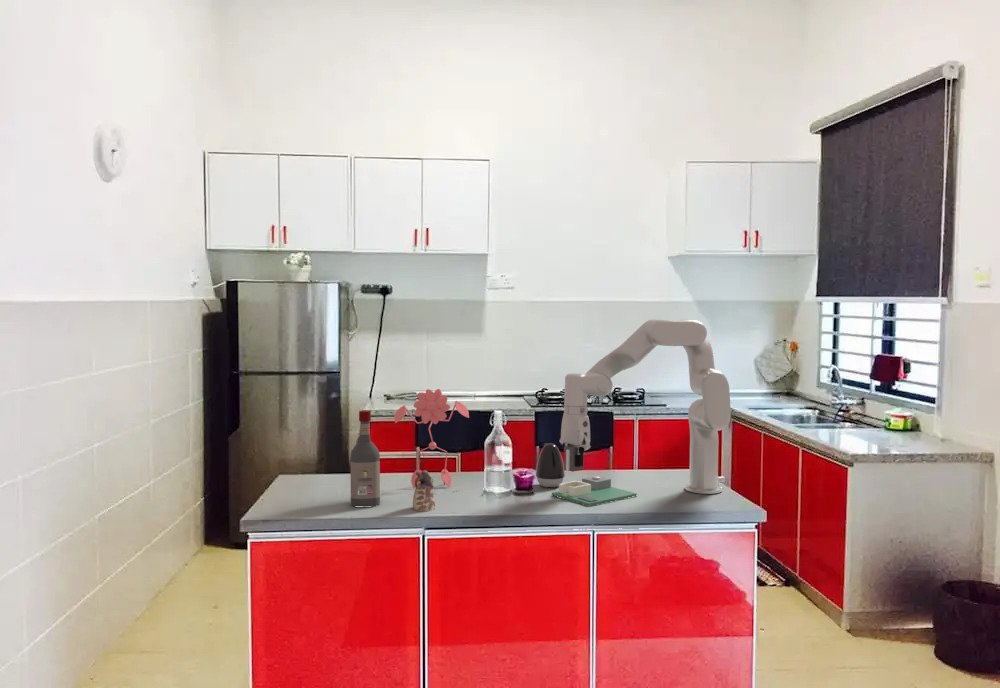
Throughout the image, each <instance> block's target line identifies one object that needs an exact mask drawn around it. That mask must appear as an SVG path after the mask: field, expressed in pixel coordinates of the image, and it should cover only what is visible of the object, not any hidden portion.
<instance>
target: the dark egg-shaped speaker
mask: <svg viewBox="0 0 1000 688" xmlns="http://www.w3.org/2000/svg"><path fill="white" fill-rule="evenodd" d="M535 469H536V470H535V477H536V481H537V482H538V484H539V485H540V486H542V487H544V488H548V487H554V488H558V487H559V484H561V483H564V482H563V481H564V478H565V476H566V474H565V473H566V472H565V471H566V470H564V460H563V456H562V454H561V451H560V450H559V448H558V446H557V445H556V444H555V443H552V442H550V443H547V442H546V443H545V442H544V443H543V447H542V449H541V451H540V453H539V455H538V459H537V464H536V468H535Z"/></svg>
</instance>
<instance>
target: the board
mask: <svg viewBox="0 0 1000 688" xmlns="http://www.w3.org/2000/svg"><path fill="white" fill-rule="evenodd" d="M552 495H554V496H553V497H555V496H558V497H561V498H560V499H562V498H564V499H563V500H565V499H567V500H566V501H569V500H571V501H570V502H572V501H574V502H573V503H575V502H578V503H577V504H579V503H581V504H580V505H582V504H584V505H583V506H586V505H588V506H587V507H589V506H590V507H593V506H592V505H594V506H598V505H597V504H599V505H602V504H601V503H604V504H606V503H605V502H608V503H611V502H610V501H613V502H616V501H615V500H618V501H621V500H620V499H622V500H625V499H624V498H627V499H629V498H628V497H631V498H633V497H632V496H636V495H637V496H638V494H637V492H632V491H628V490H624V489H621V488H616V487H612V486H611V487H610V488H605V489H600V490H594V489H591V493H590V494H585V495H580V496H575V497H573V496H569V495H568V492H566V494H562V493H559V490H558V491H553V492H551V496H552ZM637 496H636V497H637ZM558 497H557V498H558Z"/></svg>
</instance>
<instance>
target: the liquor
mask: <svg viewBox="0 0 1000 688" xmlns="http://www.w3.org/2000/svg"><path fill="white" fill-rule="evenodd" d="M371 412H372V411H371V410H368V409H367V410H359V411H358V421H359V423H360V426H359V430H360V431H359V435H360V436H359V441H357V443H356V445H355V446H354V447H353V448H352V449H351V452H350V458H349V459H350V460H349V461H350V464H349V465H350V505H351V506H352V505H353V506H375V507H377V506H376V505H378V506H379V505H380V503H381V479H380V478H381V476H380V475H381V470H380V469H381V468H380V467H381V465H380V464H381V462H380V461H381V460H380V459H381V455H380V451H379V449H378V447H377V446H376V445H375V444H374V442H372V440H371V434H370V433H371V431H370V430H371V428H370V427H371V426H370V425H371V424H370V423H371V420H372V419H371V418H372V416H371V415H372V414H371Z"/></svg>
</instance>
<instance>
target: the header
mask: <svg viewBox="0 0 1000 688" xmlns="http://www.w3.org/2000/svg"><path fill="white" fill-rule="evenodd" d="M558 488H559V490H558V491H559V493H562V494H566V492H568V495H569V496H573V497H575V496H580V495H585V494H590V493H591V484H588V483H584V482H582V481H579V480H573V481H568V482H562V483H561V484H559V486H558Z"/></svg>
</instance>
